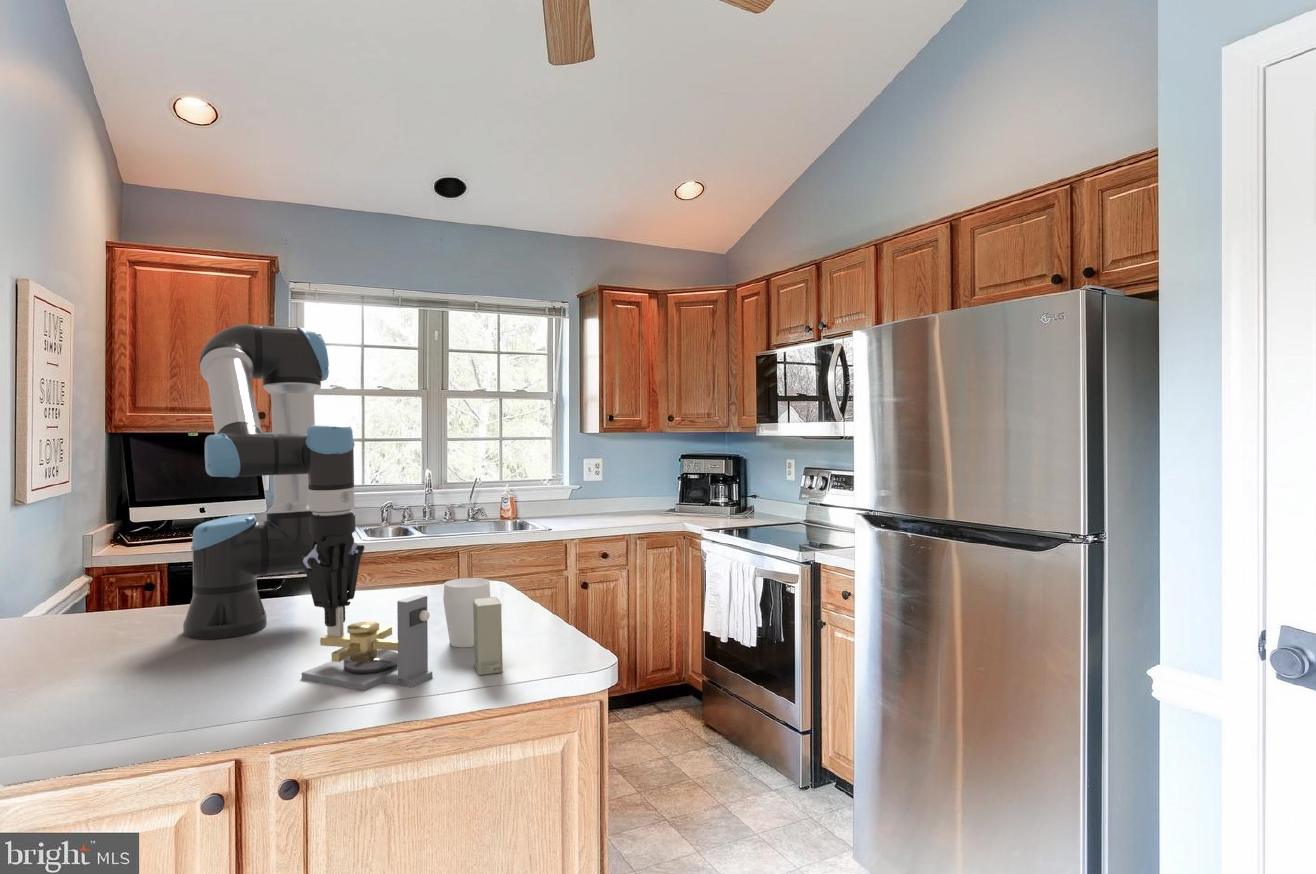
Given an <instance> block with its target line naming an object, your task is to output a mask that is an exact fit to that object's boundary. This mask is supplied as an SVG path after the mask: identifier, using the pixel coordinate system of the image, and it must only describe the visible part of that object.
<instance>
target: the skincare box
mask: <svg viewBox="0 0 1316 874" xmlns="http://www.w3.org/2000/svg"><path fill="white" fill-rule="evenodd" d="M473 616H474V647H473V648H474V650H473V651H474V653H473V655H474V668H475V670H476V673H477V674H478V676H480V675H482V676H483V675H492V674H498V673H502V672H503V671H504V667H503V666H504V665H503V634H502V633H503V630H502V629H503V628H502V627H503V626H502V602H501V600H500V598H498V597H497V596H493V597H492V596H490V597H489V598H479V599H473Z"/></svg>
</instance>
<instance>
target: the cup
mask: <svg viewBox="0 0 1316 874" xmlns="http://www.w3.org/2000/svg"><path fill="white" fill-rule="evenodd" d="M490 584H491V583H490V580H489V579H487V578H481V577H464V578H463V577H462V578H454V579H450V580H447V581H445V582H444V583H443V597H442V598H443V606H444V608H443V609H444V613H445V620H446V627H447V633H448V640H449V641H448V642H449V644H450V646H452V647H455V648H463V649H464V648H474V616H473V599H479V598H489V597H491V589H490V588H491V587H490Z"/></svg>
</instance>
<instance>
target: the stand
mask: <svg viewBox="0 0 1316 874" xmlns="http://www.w3.org/2000/svg"><path fill="white" fill-rule="evenodd" d="M396 606H397V608H396V609H397V611H396V613H397V618H396V619H397V640H398V651H397V653H398V664H397V665H396V666H395V667H393V668H391V669H388V670H384V671H380V672H374V673H351V672H347V671H345V670H344V660H342V661H340V662H333V661H332V660H331V661H329V662H327V663H323V664H320V665H318V666H316V667H313V668H310V669H308V670H304V671H302V672H301V679H303V680H308V681H313V682H318V683H323V684H328V685H333V686H339V687H344V688H348V689H352V690H353V689H354V690H360V691H363V692H364V691H366V690H369V689H371V688H373V687H375V686H378V685H380V684H382V683H388V684H389V683H390V684H395V685H400V686H405V687H411V688H412V687H414V686H415V687H416V686H417V685H419V684H421V683H423V682H425V681H428V680H430V679H431V678H433V671H432V670H429V666H428V662H429V661H428V660H429V659H428V656H429V655H428V654H429V653H428V652H429V651H428V648H429V647H428V644H429V643H428V634H429V633H428V620H429V619H430V617H431V614H430V612H429V611H428V595H423V594H416V595H415V594H414V595H413V596H409V597H407V598H403V599H401V600H397V605H396Z"/></svg>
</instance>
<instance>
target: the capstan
mask: <svg viewBox="0 0 1316 874" xmlns="http://www.w3.org/2000/svg"><path fill="white" fill-rule="evenodd" d="M347 633H348V634H349V636H344V637H343V636H328V635H327V634H326V635H323V636H321V637H320V638H319V639H320V645H319V646H324V647H335V648H336V647H339V648H338V649H337V650H335V651H332V652H331V661H333V662H340V661H342V660H344V670H345V671H347V672H351V673H374V672H380V671H384V670H388V669H391V668H393V667H395V666H396V665H397V664H398V639H388V637H390V636H392V635H393V626H383V627H381V628H380V623H379V622H377V621H359V622H355V623H351V624H349V625H347ZM386 638H387V639H386Z"/></svg>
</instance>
